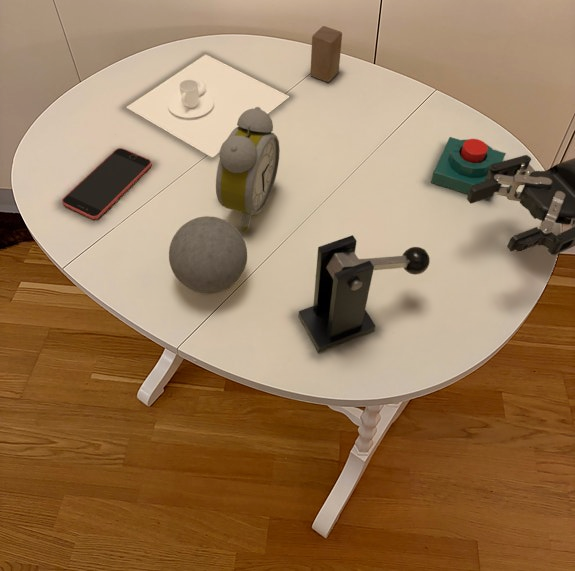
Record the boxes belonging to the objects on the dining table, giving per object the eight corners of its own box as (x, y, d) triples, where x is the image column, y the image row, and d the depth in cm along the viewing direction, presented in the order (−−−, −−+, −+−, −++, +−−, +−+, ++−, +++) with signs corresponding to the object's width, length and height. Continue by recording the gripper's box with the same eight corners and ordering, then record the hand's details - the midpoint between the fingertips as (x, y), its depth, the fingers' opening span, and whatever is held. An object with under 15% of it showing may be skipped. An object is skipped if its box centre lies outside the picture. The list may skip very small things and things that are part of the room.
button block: (501, 163, 95) (509, 144, 92) (487, 200, 90) (495, 181, 87) (446, 147, 97) (452, 127, 94) (430, 182, 92) (435, 163, 89)
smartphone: (154, 161, 93) (95, 219, 86) (154, 163, 94) (96, 221, 87) (118, 146, 95) (58, 201, 88) (119, 148, 96) (59, 204, 88)
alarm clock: (252, 239, 85) (248, 160, 73) (209, 227, 86) (197, 147, 74) (280, 185, 92) (281, 103, 79) (239, 174, 93) (233, 92, 81)
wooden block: (328, 83, 106) (331, 42, 100) (309, 76, 108) (311, 35, 101) (339, 72, 108) (343, 31, 102) (320, 65, 110) (323, 24, 103)
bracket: (352, 295, 80) (364, 226, 68) (374, 330, 76) (390, 264, 65) (298, 316, 78) (301, 248, 66) (318, 353, 74) (325, 288, 63)
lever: (411, 259, 76) (425, 240, 74) (425, 279, 74) (440, 260, 72) (321, 266, 68) (333, 245, 66) (335, 288, 67) (347, 268, 64)
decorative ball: (163, 266, 82) (151, 216, 74) (229, 240, 85) (224, 190, 77) (192, 320, 77) (182, 273, 69) (261, 290, 80) (259, 242, 72)
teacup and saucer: (193, 82, 106) (190, 62, 103) (227, 100, 103) (225, 80, 100) (158, 107, 102) (154, 86, 99) (191, 126, 99) (188, 106, 96)
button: (487, 151, 91) (490, 142, 90) (481, 166, 89) (484, 157, 88) (464, 144, 92) (466, 135, 90) (457, 159, 90) (460, 150, 89)
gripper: (568, 125, 78) (464, 160, 74) (647, 198, 70) (536, 241, 67) (547, 168, 84) (450, 202, 80) (618, 239, 77) (514, 280, 73)
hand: (489, 219), depth 73 cm, fingers open, 8 cm apart
